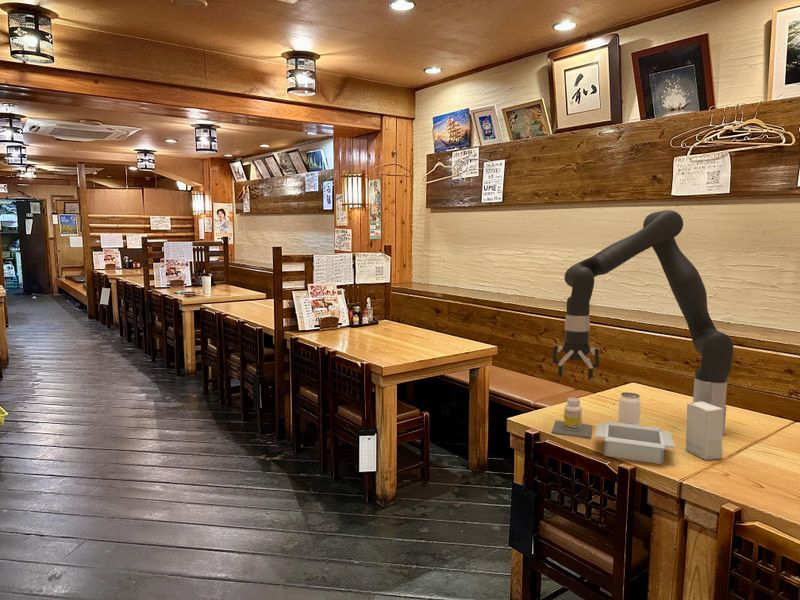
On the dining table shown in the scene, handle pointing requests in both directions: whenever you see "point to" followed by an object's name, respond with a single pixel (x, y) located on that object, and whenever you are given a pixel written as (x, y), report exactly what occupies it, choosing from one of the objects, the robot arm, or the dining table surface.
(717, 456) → the skincare box
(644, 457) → the carton
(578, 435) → the mat
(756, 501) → the dining table surface
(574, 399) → the supplement bottle
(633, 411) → the can
